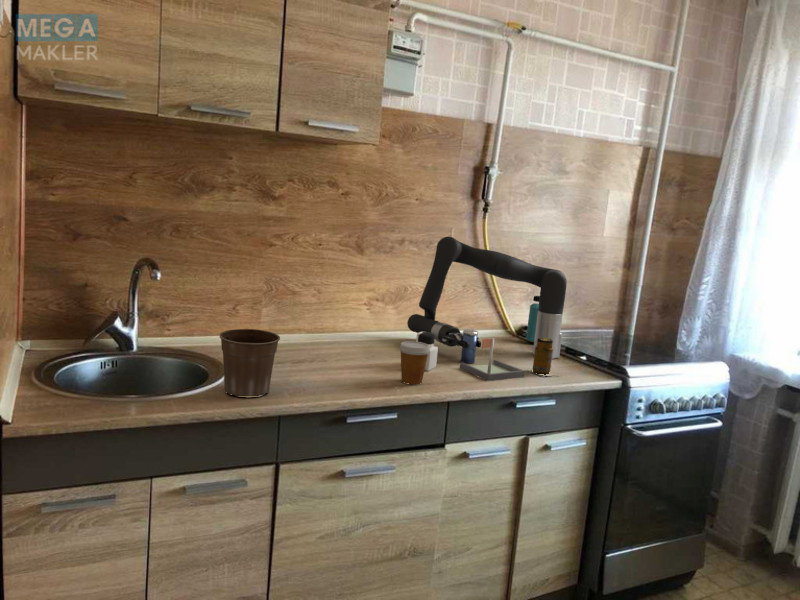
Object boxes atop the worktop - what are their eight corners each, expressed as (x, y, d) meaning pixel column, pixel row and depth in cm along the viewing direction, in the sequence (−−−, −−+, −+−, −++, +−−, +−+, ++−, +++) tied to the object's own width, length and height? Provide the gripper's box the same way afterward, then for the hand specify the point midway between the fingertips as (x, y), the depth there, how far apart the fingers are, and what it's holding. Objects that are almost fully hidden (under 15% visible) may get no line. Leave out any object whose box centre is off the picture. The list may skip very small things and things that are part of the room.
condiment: (543, 369, 239) (547, 336, 237) (558, 376, 232) (562, 342, 230) (526, 370, 236) (530, 337, 234) (541, 377, 229) (545, 343, 227)
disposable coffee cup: (417, 388, 204) (420, 350, 202) (390, 381, 208) (393, 344, 206) (432, 382, 212) (436, 345, 210) (406, 375, 217) (409, 339, 214)
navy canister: (472, 359, 243) (475, 329, 241) (476, 363, 238) (480, 333, 236) (458, 359, 242) (461, 329, 240) (462, 363, 237) (466, 332, 235)
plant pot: (286, 398, 185) (289, 341, 182) (228, 404, 176) (231, 344, 173) (263, 381, 198) (266, 327, 195) (209, 386, 189) (211, 330, 187)
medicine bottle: (436, 367, 230) (439, 332, 228) (428, 371, 224) (431, 336, 222) (417, 363, 233) (420, 329, 231) (408, 367, 226) (411, 332, 224)
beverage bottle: (542, 345, 277) (548, 298, 273) (526, 344, 277) (532, 296, 273) (539, 342, 283) (545, 295, 280) (523, 340, 283) (529, 294, 280)
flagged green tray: (451, 369, 229) (455, 328, 227) (495, 364, 240) (499, 326, 237) (479, 381, 217) (483, 339, 214) (524, 376, 227) (529, 336, 225)
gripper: (430, 325, 246) (459, 335, 232) (461, 323, 254) (491, 333, 240) (428, 345, 248) (457, 357, 234) (459, 342, 255) (488, 354, 242)
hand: (474, 345), depth 237 cm, fingers closed on navy canister, 5 cm apart
